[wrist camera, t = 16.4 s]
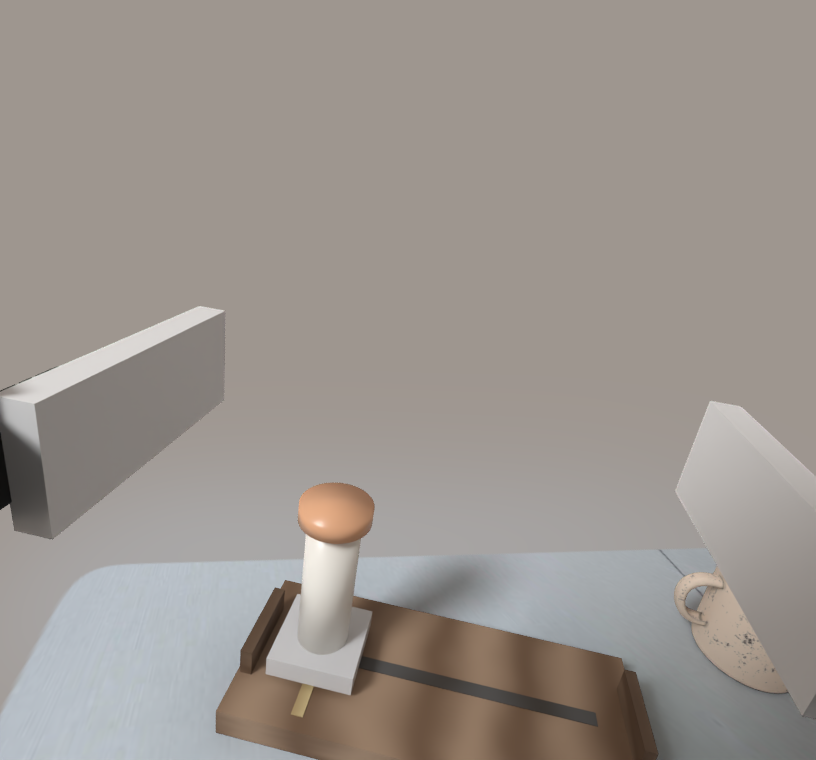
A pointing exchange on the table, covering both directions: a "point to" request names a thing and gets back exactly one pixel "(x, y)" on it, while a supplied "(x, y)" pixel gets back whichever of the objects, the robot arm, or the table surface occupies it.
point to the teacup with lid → (727, 633)
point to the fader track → (440, 696)
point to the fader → (326, 593)
